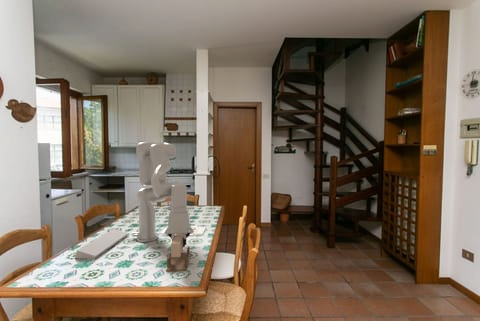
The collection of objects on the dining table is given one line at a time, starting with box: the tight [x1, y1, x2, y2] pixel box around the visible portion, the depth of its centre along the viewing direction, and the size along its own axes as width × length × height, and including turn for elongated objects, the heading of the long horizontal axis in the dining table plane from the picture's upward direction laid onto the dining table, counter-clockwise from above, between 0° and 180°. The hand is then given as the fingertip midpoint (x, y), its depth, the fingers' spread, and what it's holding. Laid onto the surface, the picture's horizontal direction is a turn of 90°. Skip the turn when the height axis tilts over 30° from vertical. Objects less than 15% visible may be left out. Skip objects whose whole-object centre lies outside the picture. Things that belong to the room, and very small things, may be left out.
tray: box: [160, 225, 207, 237], centre depth 171 cm, size 20×28×4 cm
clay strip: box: [170, 234, 184, 257], centre depth 123 cm, size 4×22×6 cm, turn 6°
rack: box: [165, 246, 191, 272], centre depth 124 cm, size 9×18×5 cm, turn 6°
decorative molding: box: [74, 228, 129, 260], centre depth 144 cm, size 34×5×10 cm
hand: (179, 245), depth 123 cm, fingers closed on clay strip, 4 cm apart
